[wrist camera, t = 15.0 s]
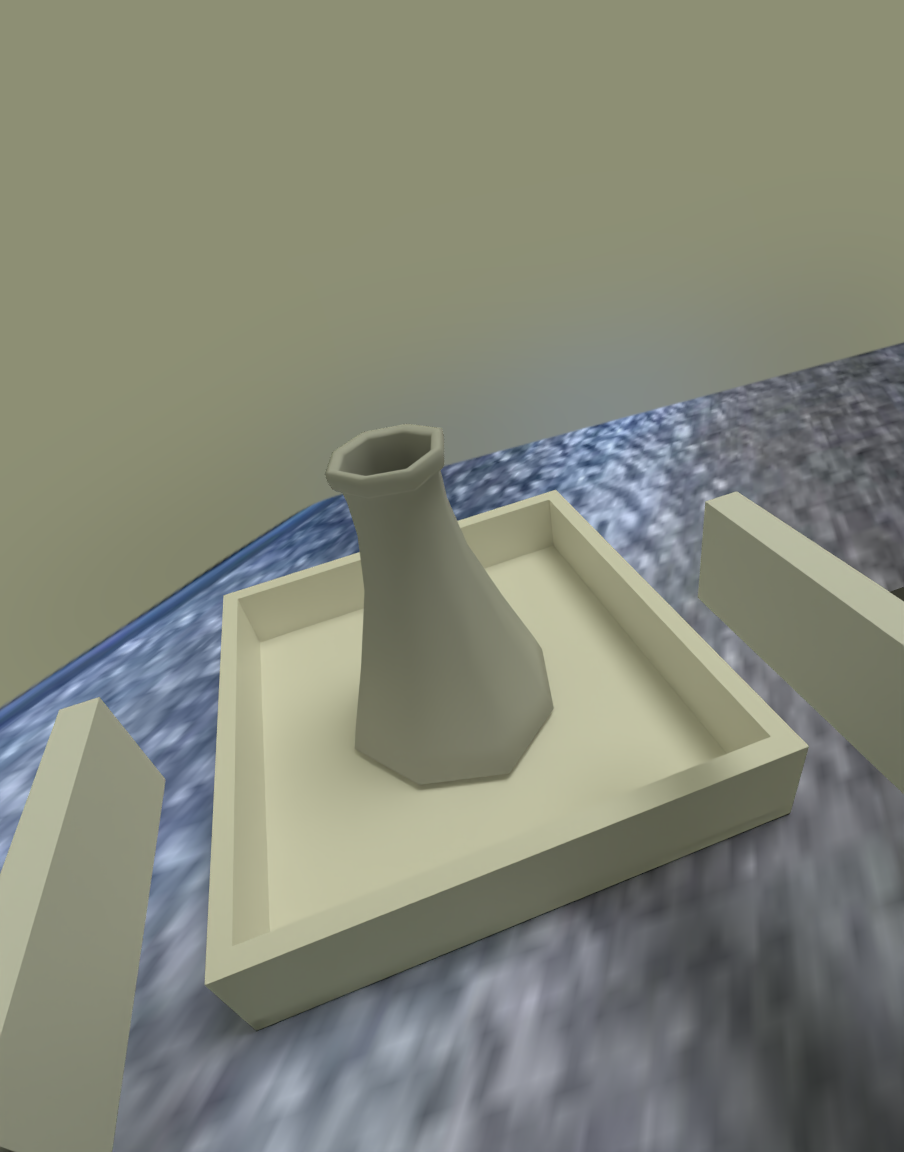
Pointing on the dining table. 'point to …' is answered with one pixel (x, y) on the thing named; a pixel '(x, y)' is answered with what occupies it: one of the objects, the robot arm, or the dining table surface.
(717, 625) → the dining table surface
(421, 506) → the flask
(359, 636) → the box
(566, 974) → the dining table surface
